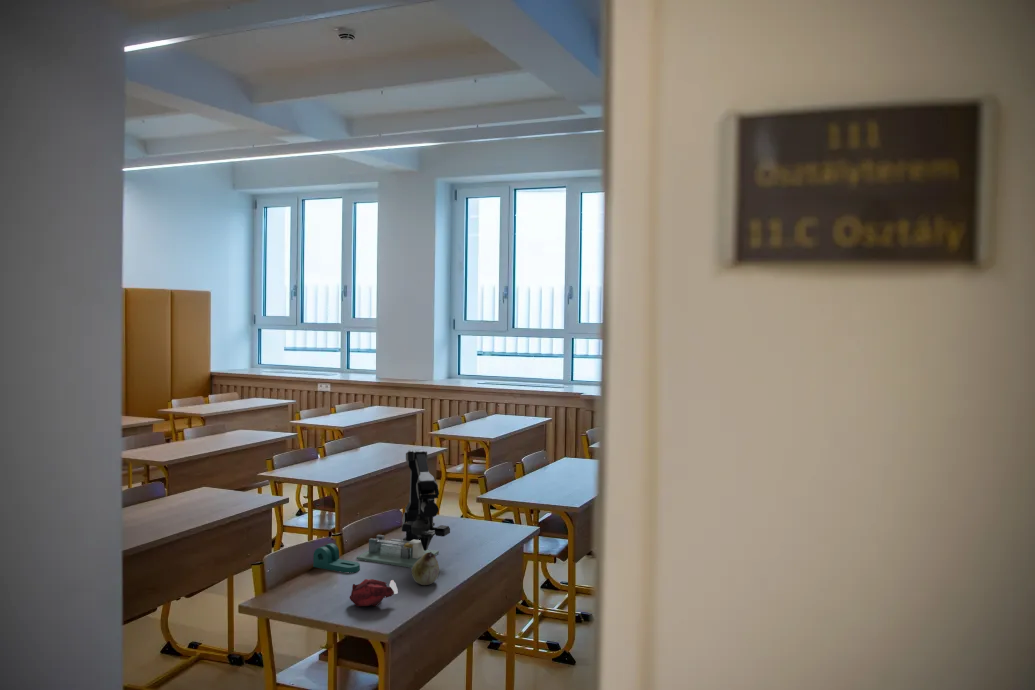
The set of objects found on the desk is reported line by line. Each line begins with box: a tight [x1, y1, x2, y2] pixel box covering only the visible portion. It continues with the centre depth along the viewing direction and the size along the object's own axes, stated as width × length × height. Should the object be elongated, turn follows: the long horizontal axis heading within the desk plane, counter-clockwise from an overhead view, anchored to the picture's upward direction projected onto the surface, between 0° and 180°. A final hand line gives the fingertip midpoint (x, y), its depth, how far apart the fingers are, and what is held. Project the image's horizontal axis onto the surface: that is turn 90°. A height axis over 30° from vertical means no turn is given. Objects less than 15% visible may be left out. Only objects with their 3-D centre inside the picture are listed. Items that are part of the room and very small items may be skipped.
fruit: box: [411, 552, 440, 586], centre depth 262 cm, size 10×9×12 cm
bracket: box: [312, 542, 361, 574], centre depth 278 cm, size 18×7×8 cm, turn 66°
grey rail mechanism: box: [368, 534, 413, 559], centre depth 293 cm, size 11×18×6 cm, turn 70°
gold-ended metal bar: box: [377, 538, 413, 548], centre depth 293 cm, size 4×18×2 cm, turn 70°
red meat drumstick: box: [348, 578, 399, 607], centre depth 241 cm, size 15×13×9 cm
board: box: [355, 549, 440, 569], centre depth 293 cm, size 20×26×1 cm
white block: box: [409, 539, 424, 559], centre depth 290 cm, size 5×4×6 cm
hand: (425, 550), depth 288 cm, fingers closed
